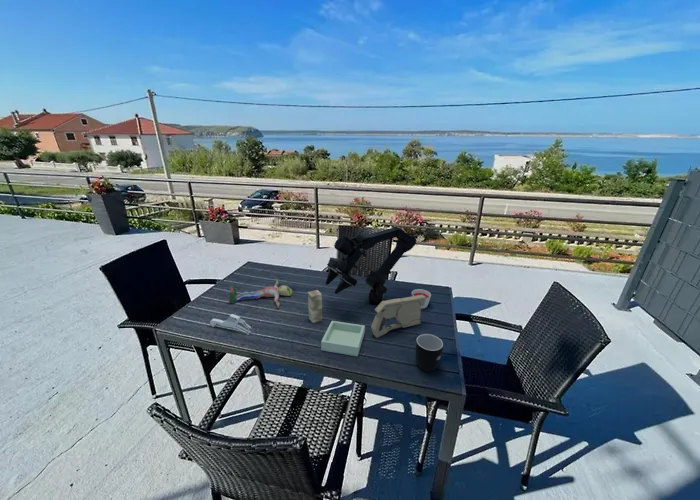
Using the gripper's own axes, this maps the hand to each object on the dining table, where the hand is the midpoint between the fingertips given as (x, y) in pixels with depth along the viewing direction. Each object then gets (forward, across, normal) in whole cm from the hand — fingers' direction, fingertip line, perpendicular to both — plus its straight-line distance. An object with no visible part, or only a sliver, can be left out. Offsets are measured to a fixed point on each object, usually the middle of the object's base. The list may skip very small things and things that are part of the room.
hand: (330, 288), depth 130 cm
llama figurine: (+37, -9, -23) cm, 44 cm away
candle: (-17, +13, +41) cm, 46 cm away
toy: (+26, -30, -9) cm, 41 cm away
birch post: (+15, 0, +3) cm, 15 cm away
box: (+12, +20, +6) cm, 24 cm away
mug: (-1, +44, +22) cm, 49 cm away
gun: (-3, +23, +24) cm, 34 cm away
